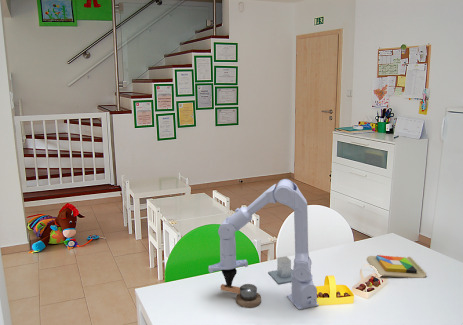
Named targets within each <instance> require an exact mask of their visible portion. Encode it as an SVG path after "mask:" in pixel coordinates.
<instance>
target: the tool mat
mask: <svg viewBox="0 0 463 325" xmlns="http://www.w3.org/2000/svg"><path fill="white" fill-rule="evenodd" d="M292 271H293V268H291V277H287V278H281V277H280V276H279V275H278V274H277V269H276V270H272V271H271V270H270V271H268V272H267V274H268V275H269V276H270V277H271V278H272V280H274V281H275V282H276V284H277V285H284V284H291V283H292Z"/></svg>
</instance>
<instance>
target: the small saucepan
mask: <svg viewBox="0 0 463 325" xmlns="http://www.w3.org/2000/svg"><path fill="white" fill-rule="evenodd" d="M257 290H258V287H257V286H256V285H255V284H251V283H247V284H246V283H245V284H244V283H243V284H242V285H241V286H234V285H231V286H230V285H226V283H225V284H224V283H222V284H220V291H223V292H228V293H234V294H240V298H241V299H243V300H245V301H252V300H255V299H256V298H257V293H258V291H257Z"/></svg>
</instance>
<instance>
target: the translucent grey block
mask: <svg viewBox="0 0 463 325" xmlns="http://www.w3.org/2000/svg"><path fill="white" fill-rule="evenodd" d="M276 263H277V267H276V270H277V274H278V275H279V276H280V277H281V278H287V277H291V269H292V260H291V259H290V258H289V257H288V256H287V255H286V256H280V257H277V260H276Z"/></svg>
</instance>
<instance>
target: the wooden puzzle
mask: <svg viewBox="0 0 463 325" xmlns="http://www.w3.org/2000/svg"><path fill="white" fill-rule="evenodd" d="M366 261H367V263H368V265H369V266H370V265H372V266H374V267H375V268H376V269H377V271H378V273H379V274H380V275H382V276H383V277H391V278H392V277H393V278H407V279H408V278H409V279H425V278H426V277H427V272H426V271H425V270H424V269H423V268H422V267H421V266H420V265H419V264H418V263H417V262H416V260H415V259H413V258H412V257H411V256H407V257H406V256H405V257H404V256H403V257H402V256H390V255H382V254H379V255H378V254H377V255H369V256H367V257H366Z"/></svg>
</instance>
